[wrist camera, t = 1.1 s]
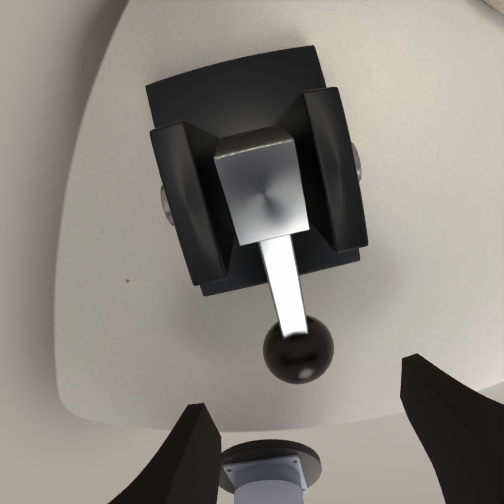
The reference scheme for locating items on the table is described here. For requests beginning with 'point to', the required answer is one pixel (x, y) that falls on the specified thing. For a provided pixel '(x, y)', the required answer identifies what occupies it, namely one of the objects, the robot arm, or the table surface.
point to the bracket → (242, 120)
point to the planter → (496, 5)
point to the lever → (274, 241)
